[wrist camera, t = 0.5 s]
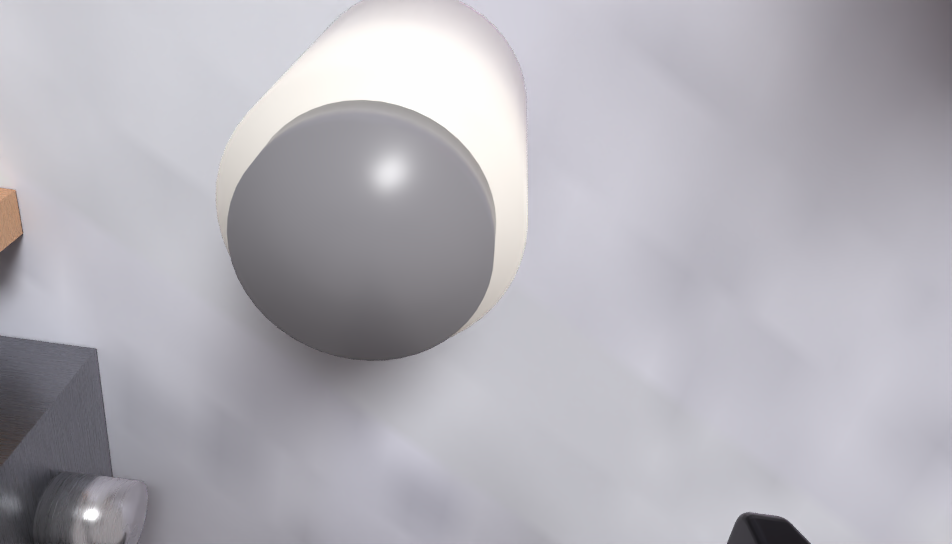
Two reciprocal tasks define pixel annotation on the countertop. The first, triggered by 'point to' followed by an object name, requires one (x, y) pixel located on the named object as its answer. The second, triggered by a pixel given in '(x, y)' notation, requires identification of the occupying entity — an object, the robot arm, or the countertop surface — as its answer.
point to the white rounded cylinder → (382, 181)
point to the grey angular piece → (57, 441)
